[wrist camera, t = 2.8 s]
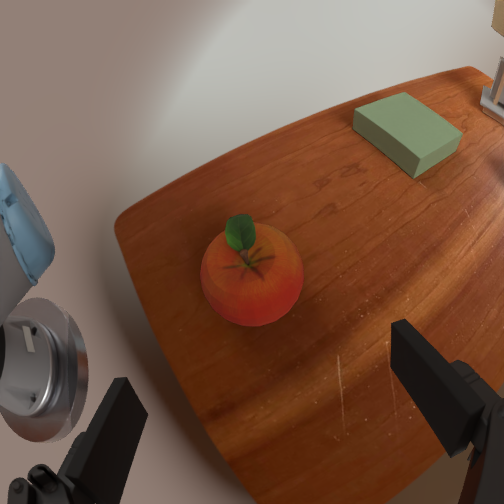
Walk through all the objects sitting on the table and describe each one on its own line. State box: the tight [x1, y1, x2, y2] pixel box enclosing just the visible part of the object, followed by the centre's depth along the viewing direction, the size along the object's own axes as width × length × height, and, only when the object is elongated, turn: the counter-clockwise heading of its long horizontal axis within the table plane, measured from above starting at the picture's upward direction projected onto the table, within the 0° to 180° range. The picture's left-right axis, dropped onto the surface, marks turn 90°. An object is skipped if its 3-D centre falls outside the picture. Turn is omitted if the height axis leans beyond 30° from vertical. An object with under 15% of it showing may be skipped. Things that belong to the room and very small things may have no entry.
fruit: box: [200, 214, 304, 326], centre depth 26 cm, size 10×10×10 cm
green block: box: [352, 92, 463, 179], centre depth 38 cm, size 13×13×4 cm
